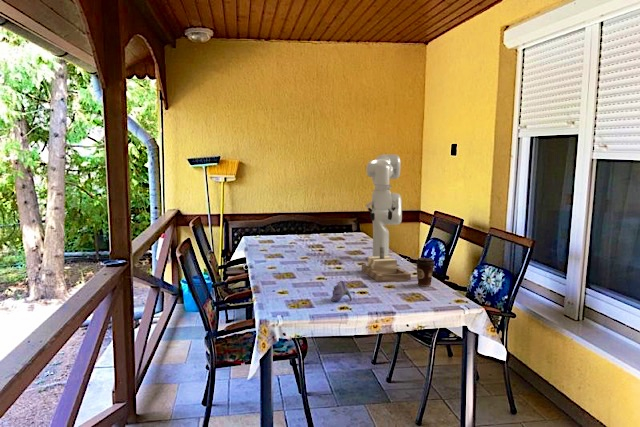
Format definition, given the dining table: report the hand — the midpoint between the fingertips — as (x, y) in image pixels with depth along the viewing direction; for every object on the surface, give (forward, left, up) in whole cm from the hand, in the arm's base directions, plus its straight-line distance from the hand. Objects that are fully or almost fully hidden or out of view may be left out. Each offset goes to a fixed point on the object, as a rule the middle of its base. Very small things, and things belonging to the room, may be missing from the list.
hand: (381, 219), depth 260 cm
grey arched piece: (+47, -36, -29) cm, 65 cm away
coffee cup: (+31, +11, -29) cm, 44 cm away
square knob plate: (+3, 0, -28) cm, 29 cm away
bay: (+8, 0, -28) cm, 29 cm away
